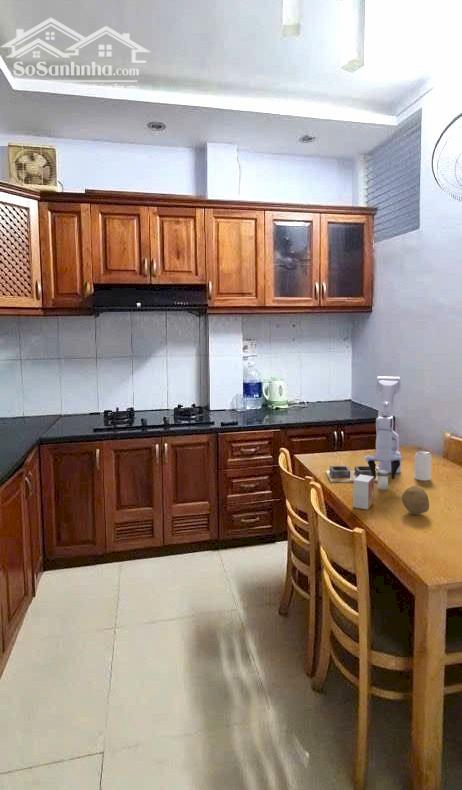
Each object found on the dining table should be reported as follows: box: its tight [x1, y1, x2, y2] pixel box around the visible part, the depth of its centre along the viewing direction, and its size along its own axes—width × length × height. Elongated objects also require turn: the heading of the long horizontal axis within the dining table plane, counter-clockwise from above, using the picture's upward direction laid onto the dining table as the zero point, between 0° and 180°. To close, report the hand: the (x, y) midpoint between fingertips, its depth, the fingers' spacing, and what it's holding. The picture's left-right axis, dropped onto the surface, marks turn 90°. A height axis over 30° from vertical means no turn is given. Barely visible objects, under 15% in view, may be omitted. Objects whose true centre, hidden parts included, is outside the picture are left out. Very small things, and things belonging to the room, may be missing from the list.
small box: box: [352, 474, 375, 510], centre depth 174 cm, size 8×6×10 cm
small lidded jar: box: [377, 470, 389, 491], centre depth 192 cm, size 4×4×7 cm
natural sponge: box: [401, 485, 430, 516], centre depth 165 cm, size 9×9×10 cm
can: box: [413, 449, 432, 482], centre depth 203 cm, size 6×6×12 cm
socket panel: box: [325, 465, 378, 483], centre depth 207 cm, size 21×14×4 cm, turn 87°
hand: (383, 478), depth 192 cm, fingers open, 7 cm apart
